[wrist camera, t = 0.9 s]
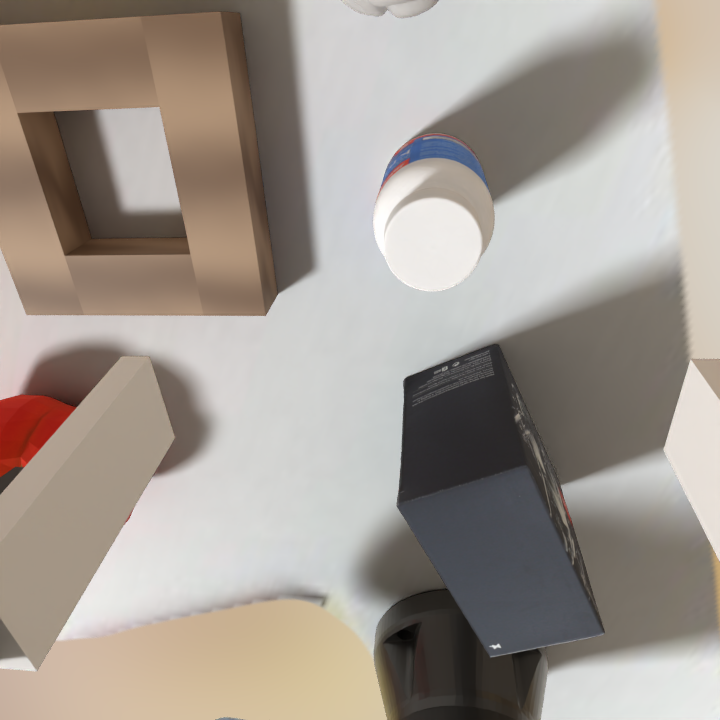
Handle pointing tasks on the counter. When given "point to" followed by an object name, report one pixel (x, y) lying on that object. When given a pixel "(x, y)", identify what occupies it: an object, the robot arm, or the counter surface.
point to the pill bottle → (433, 212)
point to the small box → (492, 507)
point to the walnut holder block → (187, 153)
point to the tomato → (28, 427)
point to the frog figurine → (390, 7)
